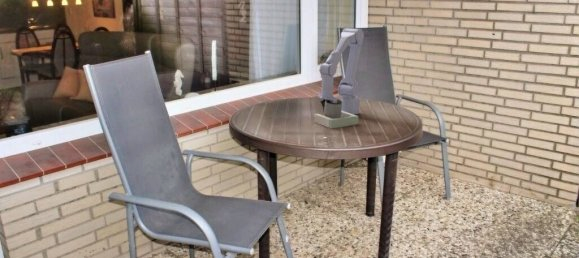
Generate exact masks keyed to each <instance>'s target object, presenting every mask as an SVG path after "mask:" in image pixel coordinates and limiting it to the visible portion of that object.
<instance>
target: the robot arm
mask: <svg viewBox="0 0 579 258" xmlns="http://www.w3.org/2000/svg"><path fill="white" fill-rule="evenodd" d="M340 37H341V38H340V40H339V42H338V43H337V47H336V48H335V49H334V50H333V51H331V53H330V54H329V56H328V57H327V59H326V61H325V63H322V64H321V65H320V68H319V74H320V78H321V93H317V94H316V95H317V97H316V98H317V99H320V103H321V106H322V108H323V111H324V108H325V100H326V99H327V100H328V102H327V103H330V102H333V103H337V99H338V98H336V97H335V96H334V76H335V74H336V73H337V69H338V65H339V63H340V61H341V60H342V57H343V56H342V54H343V52H344V51H345V50H346V48H347V47H348V46H349V47H350V48H349V53H348V54H349V55H348V58H347V59H348V60H347V65H346V70H345V74H344V75H345V76H344V78H342V79H341V80H340V82H339V85H338V87H337V92H338V95H339V97H341V98H340V100H341V101H342V110H341V111H344V112H347V113H350V114H353V115H359V114H361V112H360V105H361V104H360V98H359V96H358V95H359V91H360V89H359V87H360V86H359V85H360V83H359V82H358V81H357V80H356V75H357V70H358V64H359V60H360V55H361V48H362V46H363V44H364V43H363V42H364V39H365V34H364V31H363V29H361V28H347V27H344V28H343V29H342V32H341V33H340Z"/></svg>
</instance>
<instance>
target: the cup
mask: <svg viewBox="0 0 579 258" xmlns="http://www.w3.org/2000/svg"><path fill="white" fill-rule="evenodd" d="M336 99H337V103H333V102H330V103H327V102H328V100H327V99H326V100H325V108H324V110H323V116H326V117H329V118H331V119H335V118H341V110H342V101H341V99H338V98H336Z"/></svg>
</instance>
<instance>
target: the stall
mask: <svg viewBox="0 0 579 258" xmlns="http://www.w3.org/2000/svg"><path fill="white" fill-rule="evenodd" d="M314 123H316V124H319V125H321V126H323V127H326V128H328V129H332V130H333V129H337V128H343V127H348V126H349V127H350V126H355V125H358V124H359V116H358V114H350V113H347V112H344V111H341V118H335V119H331V118H329V117H326V116H324V114H323V115H322V114H320V113H314Z"/></svg>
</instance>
